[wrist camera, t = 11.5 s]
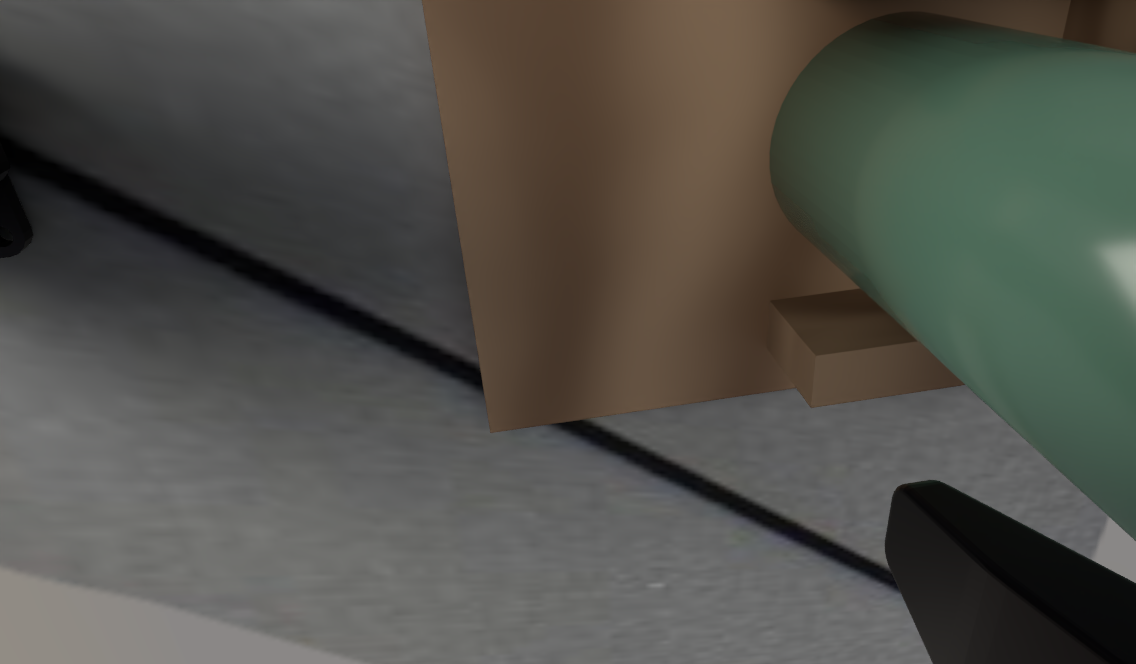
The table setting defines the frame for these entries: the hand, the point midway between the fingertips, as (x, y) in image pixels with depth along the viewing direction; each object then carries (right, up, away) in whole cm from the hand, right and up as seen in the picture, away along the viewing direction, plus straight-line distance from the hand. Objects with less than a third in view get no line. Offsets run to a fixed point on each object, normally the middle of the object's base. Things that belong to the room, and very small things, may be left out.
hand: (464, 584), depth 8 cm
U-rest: (+7, +7, +12) cm, 16 cm away
